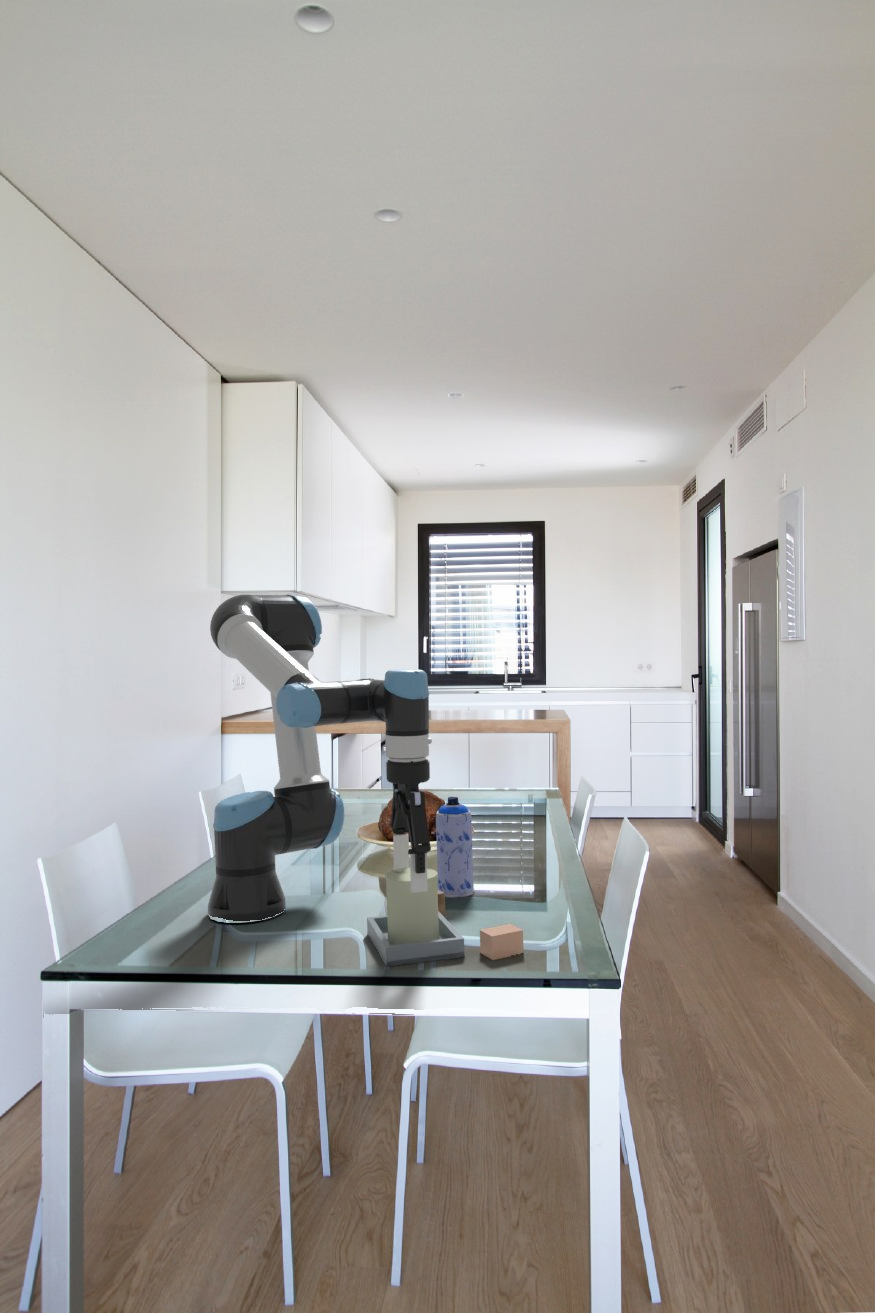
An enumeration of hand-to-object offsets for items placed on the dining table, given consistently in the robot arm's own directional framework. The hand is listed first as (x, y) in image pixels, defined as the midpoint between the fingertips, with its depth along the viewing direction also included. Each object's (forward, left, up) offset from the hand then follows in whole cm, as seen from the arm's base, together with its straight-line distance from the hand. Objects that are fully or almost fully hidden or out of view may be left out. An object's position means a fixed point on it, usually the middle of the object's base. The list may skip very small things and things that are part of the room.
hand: (410, 880), depth 149 cm
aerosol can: (+16, +29, -11) cm, 35 cm away
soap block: (+13, -9, -11) cm, 20 cm away
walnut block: (+6, +14, -11) cm, 19 cm away
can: (0, 0, -10) cm, 10 cm away
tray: (0, 0, -11) cm, 11 cm away
